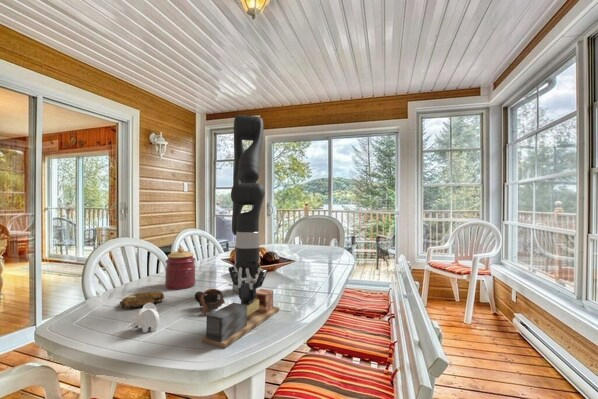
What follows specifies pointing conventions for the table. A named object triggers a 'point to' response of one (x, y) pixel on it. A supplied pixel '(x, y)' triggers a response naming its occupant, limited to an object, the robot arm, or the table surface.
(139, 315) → the elephant figurine
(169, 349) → the table surface
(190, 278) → the canister
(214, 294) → the pottery mug
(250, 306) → the olive bar with post
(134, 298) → the decorative rock
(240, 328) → the block assembly on base
